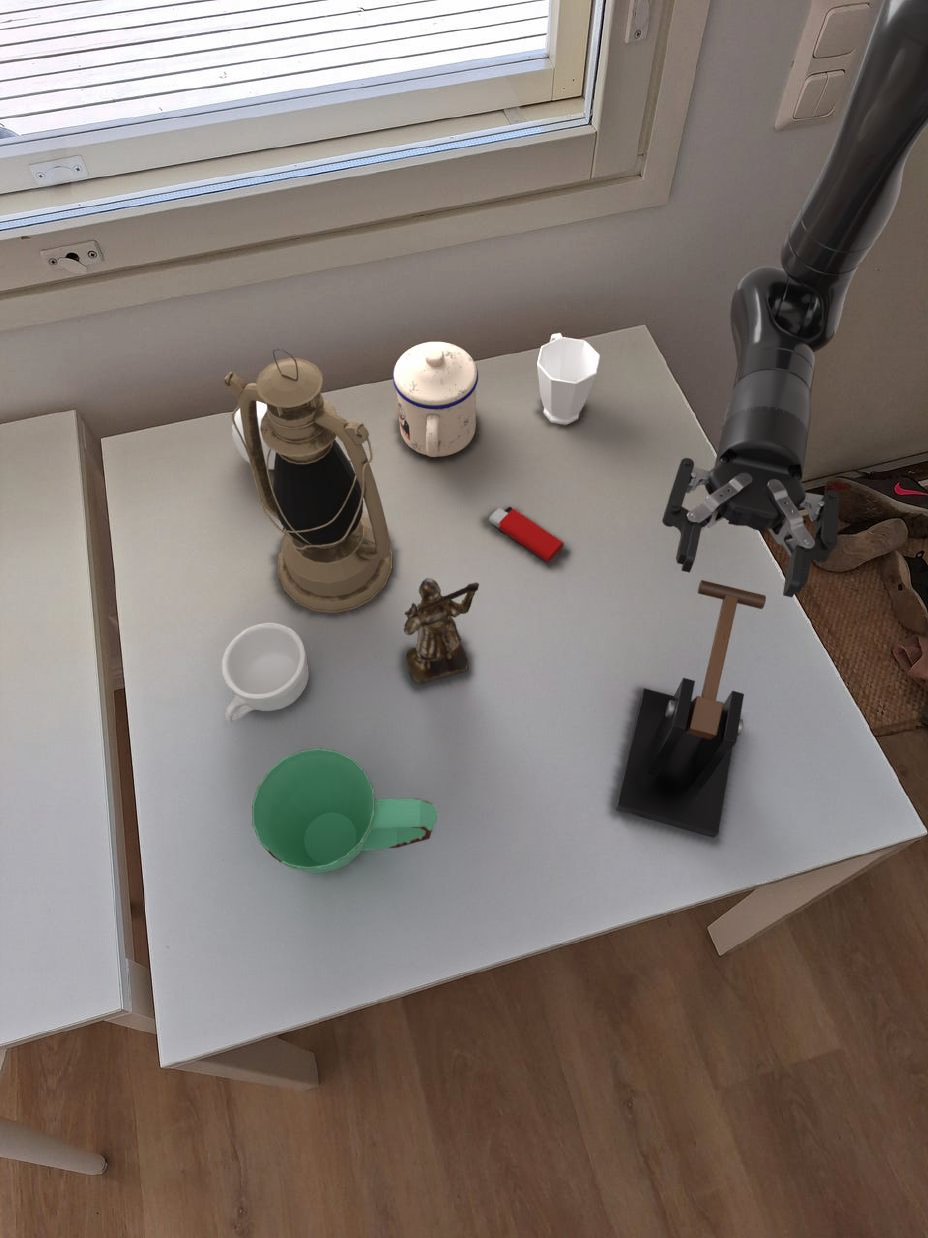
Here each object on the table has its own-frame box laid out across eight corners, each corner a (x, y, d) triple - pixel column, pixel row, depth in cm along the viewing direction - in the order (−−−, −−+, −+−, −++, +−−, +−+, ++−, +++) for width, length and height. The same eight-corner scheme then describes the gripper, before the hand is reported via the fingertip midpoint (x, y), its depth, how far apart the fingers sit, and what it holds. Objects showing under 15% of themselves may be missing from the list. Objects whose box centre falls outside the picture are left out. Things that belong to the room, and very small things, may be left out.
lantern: (245, 579, 92) (155, 370, 66) (305, 496, 97) (243, 271, 71) (367, 634, 89) (323, 437, 62) (422, 546, 94) (403, 329, 67)
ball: (289, 494, 97) (274, 447, 90) (227, 469, 99) (208, 421, 92) (325, 442, 101) (314, 393, 93) (265, 419, 102) (249, 369, 95)
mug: (269, 895, 77) (243, 868, 68) (282, 785, 81) (259, 747, 72) (438, 897, 76) (434, 870, 68) (441, 787, 81) (437, 749, 72)
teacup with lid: (402, 397, 104) (394, 320, 93) (479, 399, 103) (480, 323, 93) (392, 479, 98) (383, 406, 88) (474, 482, 98) (475, 410, 87)
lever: (698, 584, 77) (703, 575, 75) (761, 600, 76) (769, 591, 74) (664, 727, 74) (669, 722, 71) (730, 745, 73) (737, 741, 71)
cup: (538, 437, 101) (543, 387, 94) (521, 373, 105) (524, 321, 98) (598, 429, 101) (608, 378, 94) (578, 365, 106) (586, 313, 99)
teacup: (268, 635, 89) (256, 609, 84) (330, 671, 87) (322, 647, 82) (204, 714, 85) (188, 691, 80) (267, 754, 83) (255, 733, 78)
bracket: (641, 693, 85) (667, 631, 74) (734, 718, 84) (775, 659, 73) (615, 809, 80) (639, 762, 69) (714, 838, 79) (755, 794, 67)
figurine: (474, 633, 89) (475, 552, 76) (486, 666, 87) (489, 589, 74) (403, 653, 88) (391, 573, 75) (413, 686, 86) (403, 611, 73)
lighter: (547, 558, 91) (488, 516, 94) (546, 564, 93) (487, 523, 95) (564, 540, 92) (505, 500, 95) (563, 547, 94) (504, 507, 96)
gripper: (695, 387, 78) (662, 534, 71) (860, 422, 76) (843, 576, 69) (678, 443, 85) (646, 582, 77) (829, 476, 83) (810, 622, 75)
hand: (739, 579), depth 73 cm, fingers open, 8 cm apart
